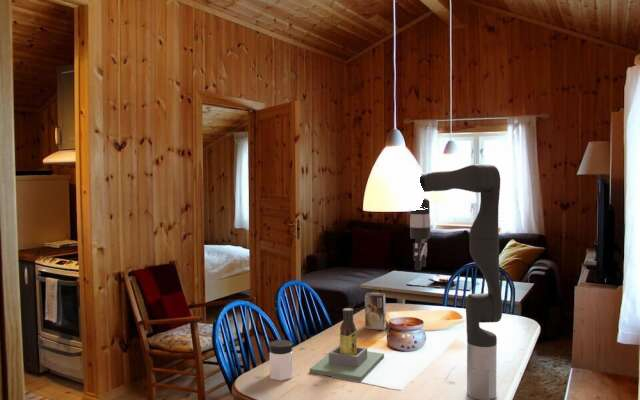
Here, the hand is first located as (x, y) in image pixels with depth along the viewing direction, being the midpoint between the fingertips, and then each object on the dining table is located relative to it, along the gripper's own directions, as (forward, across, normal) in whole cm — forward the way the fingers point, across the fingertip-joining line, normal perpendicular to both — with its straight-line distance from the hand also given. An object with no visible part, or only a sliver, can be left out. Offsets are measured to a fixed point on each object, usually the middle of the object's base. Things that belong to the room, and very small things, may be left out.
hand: (420, 268), depth 202 cm
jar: (+37, -32, +44) cm, 65 cm away
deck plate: (+36, -12, +25) cm, 46 cm away
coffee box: (+36, +38, +30) cm, 60 cm away
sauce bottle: (+35, -13, +25) cm, 45 cm away
